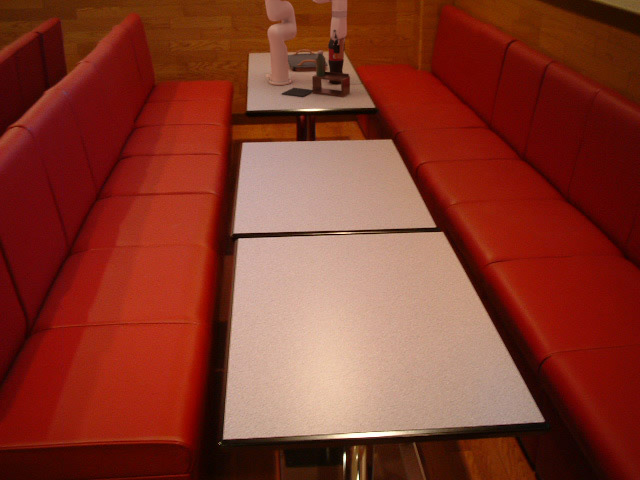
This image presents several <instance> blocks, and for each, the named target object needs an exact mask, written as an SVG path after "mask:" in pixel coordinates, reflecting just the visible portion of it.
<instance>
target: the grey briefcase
mask: <svg viewBox="0 0 640 480" xmlns="http://www.w3.org/2000/svg"><path fill="white" fill-rule="evenodd" d="M302 52H307V53H302ZM317 56H318V53H315V52H312V50H311V49H308V48H307V49H303V48H302V49H298V50H297V51H296V52H295V53H292V54H288V66H289V68H292V71H293V72H296V71H297V69H312V68H316V57H317ZM327 67H329V63H327V61H326V60H325V70H326V69H327Z"/></svg>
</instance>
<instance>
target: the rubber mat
mask: <svg viewBox="0 0 640 480" xmlns="http://www.w3.org/2000/svg"><path fill="white" fill-rule="evenodd" d="M311 94H313V89H308V88H302V87H301V88H300V87H291V88H290V89H288V90H286V91H284V92H281V95H283V96H289V97H290V96H291V97H299V98H304V97H307V96H308V95H311Z"/></svg>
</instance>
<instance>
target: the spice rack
mask: <svg viewBox="0 0 640 480" xmlns="http://www.w3.org/2000/svg"><path fill="white" fill-rule="evenodd" d="M311 79H312V80H311V81H312V83H311V84H312V90H313V92H312V94H315V95H322V96H329V97H330V96H331V97H340V98H344V97H347V96H348V95H350V94H351V76H350V73H345V72H343V73H336V72H330V71H326V70H325V76H316V74H314V75H312V76H311ZM322 80H324V81H329V80H332V81H341V83H340V90H339V89H332V88H331V89H330V88H323V87H322Z"/></svg>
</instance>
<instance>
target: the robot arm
mask: <svg viewBox="0 0 640 480" xmlns="http://www.w3.org/2000/svg"><path fill="white" fill-rule="evenodd" d="M311 1H312V2H314V3H316V4H319V5H320V4H325V3H331V21H330V35H329V36H330V37H329V38H330V39H331V38H332V41H333V45H334V53H340V45H339V40H340V39H341V38H343V39H344V51H345V47H346V45H345V43H346V37H347V35H348V24H347V23H348V22H347V21H348V20H347V18H348V0H311ZM264 4H265V9H266V16H267V18H268V20H269V21H271V22H279V23H275V24H272V25H270V26H269V28H268V29H267V34H266V35H267V39H268V43H269V53H270V69H271V70H270V71H271V72H270V73H266V75H265V77H266V79H269V81H268V83H269V84H270V85H274V86H285V85H290V84H291V83H292V82H293V81H292V79H291V78H290V75H289V74H290V73H289V62H288V55H289V51H288V46H287V45H286V43H285V41H290V40H294V39H295V37H296V36H297V32H298V28H297V27H298V26H297V21H296V16H295V15H296V14H295V9H294V7H293V5H292V3H290V1H288V0H264ZM280 21H281V22H280ZM336 37H337V38H338V39H337V38H336ZM337 40H338V41H337Z"/></svg>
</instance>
